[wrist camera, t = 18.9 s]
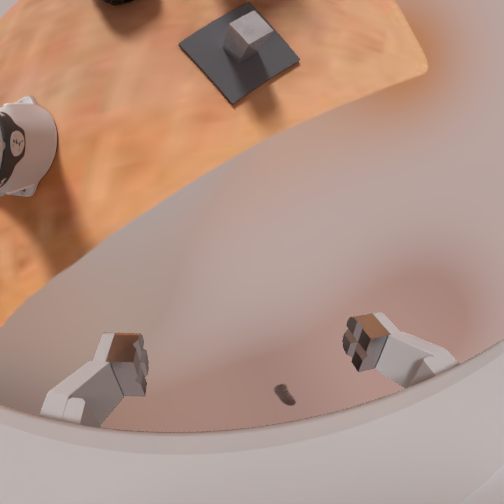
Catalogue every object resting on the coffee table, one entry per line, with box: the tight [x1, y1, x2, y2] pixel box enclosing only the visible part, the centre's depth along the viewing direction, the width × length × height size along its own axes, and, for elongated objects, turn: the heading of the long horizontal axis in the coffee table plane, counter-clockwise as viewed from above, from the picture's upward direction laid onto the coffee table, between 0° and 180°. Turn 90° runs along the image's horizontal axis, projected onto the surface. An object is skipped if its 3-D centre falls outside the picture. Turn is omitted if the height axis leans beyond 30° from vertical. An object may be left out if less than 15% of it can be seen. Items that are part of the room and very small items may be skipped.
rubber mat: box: [179, 3, 300, 104], centre depth 35 cm, size 14×14×1 cm
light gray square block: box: [223, 10, 274, 64], centre depth 30 cm, size 4×4×10 cm
